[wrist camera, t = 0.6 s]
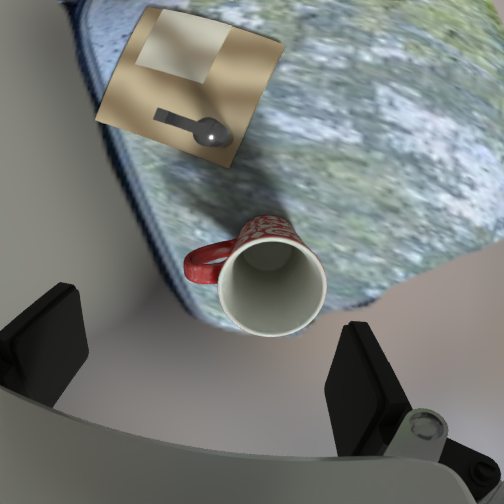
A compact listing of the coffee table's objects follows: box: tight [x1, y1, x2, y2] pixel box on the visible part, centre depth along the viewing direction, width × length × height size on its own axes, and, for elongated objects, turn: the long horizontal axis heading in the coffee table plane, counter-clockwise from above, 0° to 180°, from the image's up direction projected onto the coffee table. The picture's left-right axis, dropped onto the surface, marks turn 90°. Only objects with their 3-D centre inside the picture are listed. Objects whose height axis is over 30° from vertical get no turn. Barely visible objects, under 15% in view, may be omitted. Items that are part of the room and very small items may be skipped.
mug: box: [184, 215, 327, 337], centre depth 31 cm, size 13×9×14 cm
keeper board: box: [95, 7, 285, 169], centre depth 31 cm, size 16×18×2 cm
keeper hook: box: [153, 108, 233, 148], centre depth 27 cm, size 2×5×12 cm, turn 67°
